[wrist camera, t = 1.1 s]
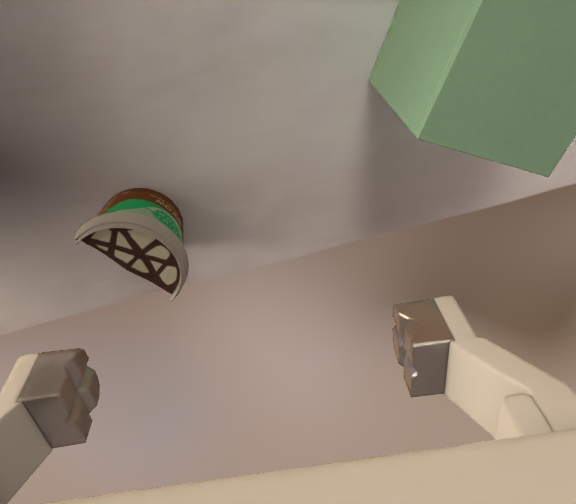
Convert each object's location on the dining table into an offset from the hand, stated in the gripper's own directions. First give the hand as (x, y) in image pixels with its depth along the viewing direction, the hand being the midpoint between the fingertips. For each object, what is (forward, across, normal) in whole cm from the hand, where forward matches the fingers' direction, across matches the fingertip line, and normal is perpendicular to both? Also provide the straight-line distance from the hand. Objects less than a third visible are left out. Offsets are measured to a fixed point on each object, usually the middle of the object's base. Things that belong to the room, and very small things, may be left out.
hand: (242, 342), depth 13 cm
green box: (+42, -21, +1) cm, 47 cm away
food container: (+42, +13, +17) cm, 47 cm away
